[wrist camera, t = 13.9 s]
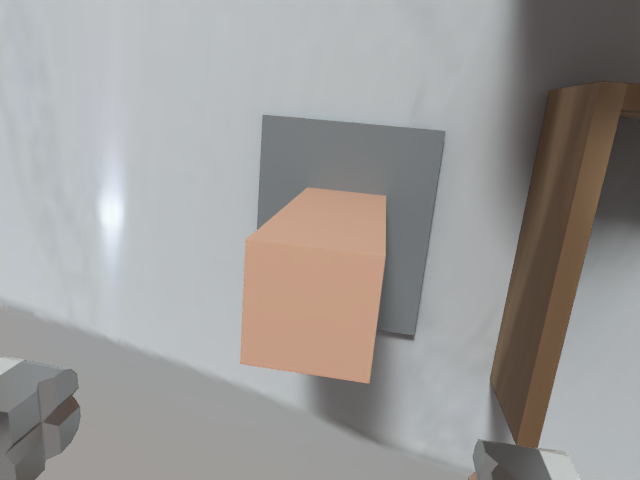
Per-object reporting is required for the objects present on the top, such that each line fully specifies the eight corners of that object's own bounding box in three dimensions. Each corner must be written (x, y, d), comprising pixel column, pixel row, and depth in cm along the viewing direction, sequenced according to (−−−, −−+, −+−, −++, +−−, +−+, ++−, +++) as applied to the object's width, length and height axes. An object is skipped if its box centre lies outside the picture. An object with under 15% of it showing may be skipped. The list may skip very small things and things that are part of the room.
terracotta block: (386, 195, 26) (385, 256, 14) (376, 271, 27) (369, 383, 16) (307, 187, 26) (245, 239, 15) (301, 262, 28) (240, 363, 16)
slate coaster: (443, 130, 25) (445, 131, 25) (413, 331, 28) (414, 335, 28) (265, 115, 26) (262, 114, 26) (255, 309, 29) (252, 312, 29)
